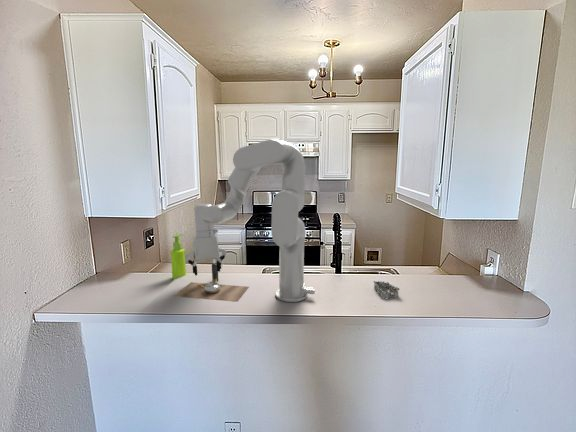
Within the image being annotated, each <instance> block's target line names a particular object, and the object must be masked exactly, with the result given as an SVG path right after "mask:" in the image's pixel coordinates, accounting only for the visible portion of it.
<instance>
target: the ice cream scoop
mask: <svg viewBox="0 0 576 432" xmlns="http://www.w3.org/2000/svg"><path fill="white" fill-rule="evenodd" d="M211 276H212V277H211V282H209V283H207V284H206V285H205V292H206V293H209V294H213V293H217V292H219V291H220V285H221V284H220V283H218V281H219V271H218V264H217V262H214V263H212V264H211Z"/></svg>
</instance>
